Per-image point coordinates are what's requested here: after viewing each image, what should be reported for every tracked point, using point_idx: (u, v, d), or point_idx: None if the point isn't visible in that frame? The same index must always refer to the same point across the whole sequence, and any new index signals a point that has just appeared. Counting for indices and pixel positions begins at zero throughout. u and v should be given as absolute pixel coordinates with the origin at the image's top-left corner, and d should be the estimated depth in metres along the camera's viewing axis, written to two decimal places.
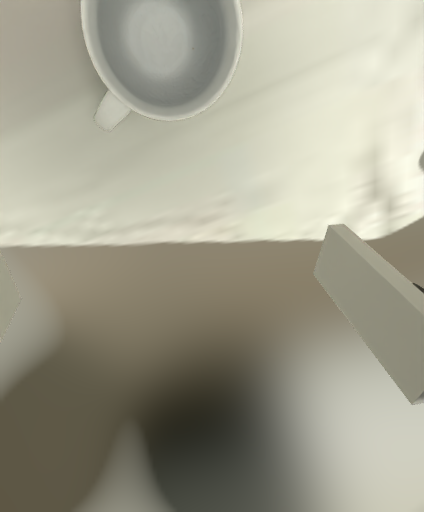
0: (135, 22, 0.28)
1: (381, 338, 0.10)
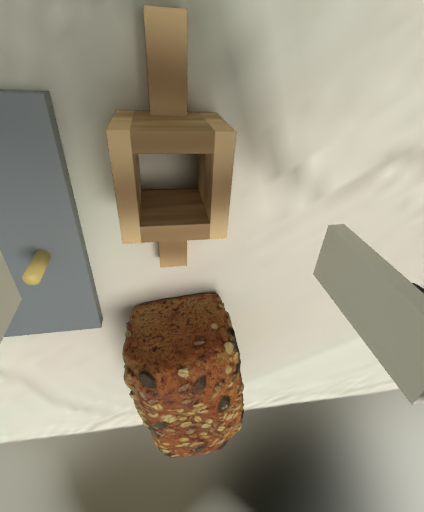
0: None
1: (382, 338, 0.10)
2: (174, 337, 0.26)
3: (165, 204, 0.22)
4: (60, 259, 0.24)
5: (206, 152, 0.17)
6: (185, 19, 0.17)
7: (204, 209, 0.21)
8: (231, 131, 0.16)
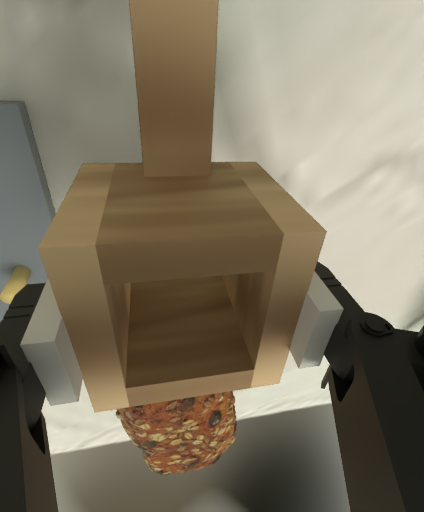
0: None
1: None
2: None
3: (170, 315, 0.13)
4: (41, 275, 0.23)
5: (261, 270, 0.08)
6: None
7: (237, 325, 0.12)
8: (315, 229, 0.08)
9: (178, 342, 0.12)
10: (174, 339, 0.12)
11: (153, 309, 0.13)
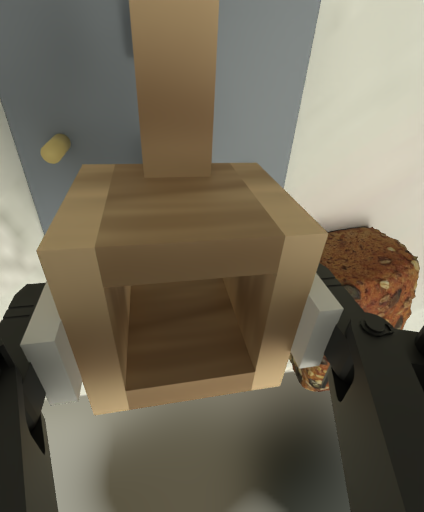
0: None
1: None
2: (357, 258, 0.27)
3: (170, 317, 0.13)
4: None
5: (262, 272, 0.08)
6: None
7: (238, 327, 0.12)
8: (317, 231, 0.08)
9: (178, 344, 0.12)
10: (174, 341, 0.12)
11: (153, 311, 0.13)
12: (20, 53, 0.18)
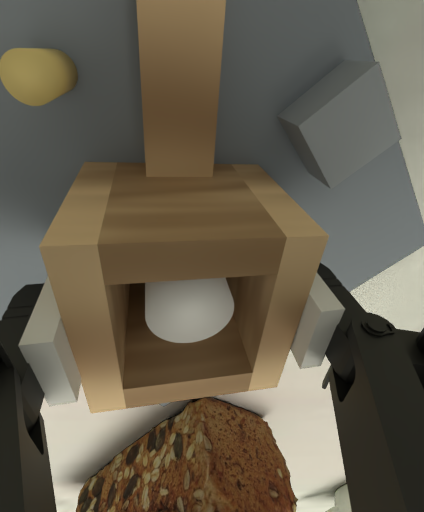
0: None
1: None
2: (252, 473, 0.22)
3: None
4: None
5: (262, 273, 0.08)
6: None
7: (236, 328, 0.12)
8: (318, 233, 0.08)
9: (176, 344, 0.12)
10: None
11: None
12: None
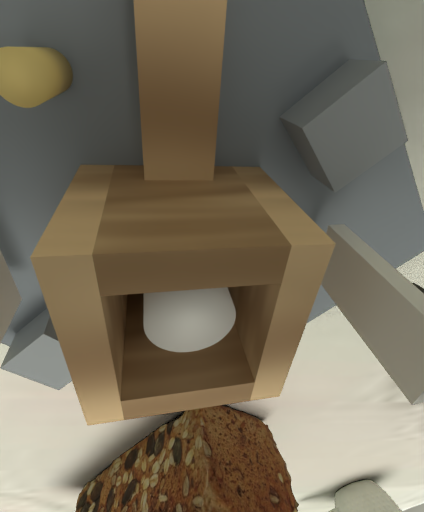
0: None
1: (382, 338, 0.10)
2: (252, 479, 0.21)
3: None
4: None
5: (266, 282, 0.08)
6: None
7: (237, 335, 0.12)
8: (324, 241, 0.07)
9: (176, 352, 0.11)
10: None
11: None
12: None
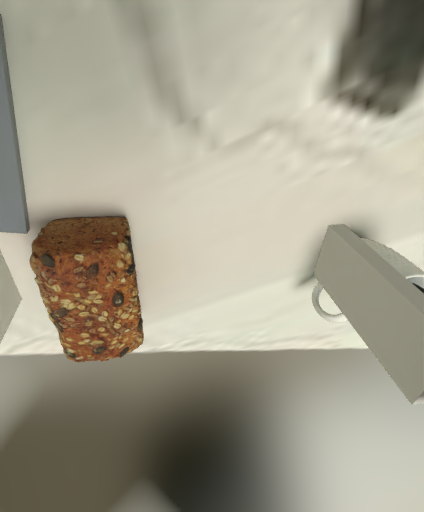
0: None
1: (382, 338, 0.10)
2: (78, 237, 0.32)
3: None
4: None
5: None
6: None
7: None
8: None
9: None
10: None
11: None
12: None
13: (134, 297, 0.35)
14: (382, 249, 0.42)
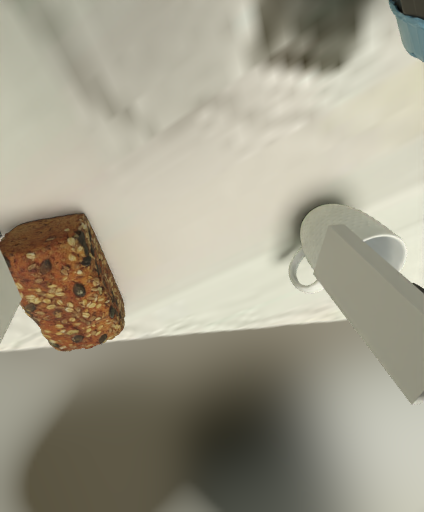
0: None
1: (381, 338, 0.10)
2: (34, 237, 0.35)
3: None
4: None
5: None
6: None
7: None
8: None
9: None
10: None
11: None
12: None
13: (97, 287, 0.38)
14: (348, 212, 0.40)
